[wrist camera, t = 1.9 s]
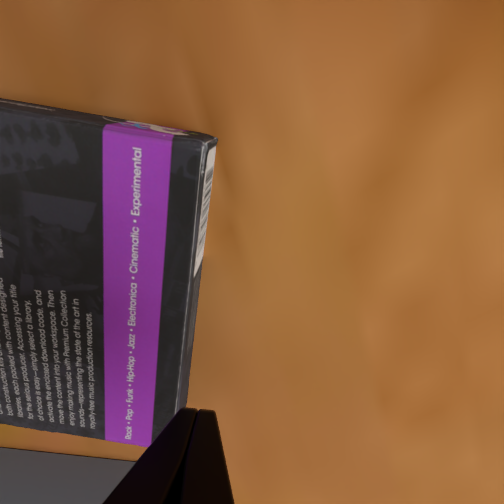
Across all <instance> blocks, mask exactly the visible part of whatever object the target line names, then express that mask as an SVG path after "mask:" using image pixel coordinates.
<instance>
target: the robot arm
mask: <svg viewBox="0 0 504 504" xmlns="http://www.w3.org/2000/svg"><path fill="white" fill-rule="evenodd" d="M102 504H234V499H233V494H232V489H231V484H230V480H229V475H228V470H227V465H226V460H225V455H224V451H223V446H222V441H221V436H220V431H219V426H218V421H217V417H216V413H215V411H214V410H206V409H200V410H199V411H198V410H197V409H195V408H187V407H182V408H181V409H179V411H178V412H177V413H176V414H175V415H174V417H173V418H172V419H171V420H170V421H169V423H168V424H167V425H166V426H165V428H164V429H163V430H162V431H161V432H160V434H159V435H158V436H157V437H156V439H155V440H154V441H153V442H152V443H151V445H150V446H149V447H148V448H147V449H146V451H145V452H144V453H143V454H142V456H141V457H140V458H139V459H138V460H137V462H136V463H135V464H134V465H133V467H132V468H131V469H130V470H129V471H128V473H127V474H126V475H125V476H124V478H123V479H122V480H121V481H120V482H119V484H118V485H117V486H116V487H115V489H114V490H113V491H112V492H111V493H110V495H109V496H108V497H107V498H106V499H105V501H104V502H103V503H102Z"/></svg>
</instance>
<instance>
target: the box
mask: <svg viewBox="0 0 504 504" xmlns="http://www.w3.org/2000/svg"><path fill="white" fill-rule="evenodd" d="M217 142H218V139H217V138H216V137H213V136H211V135H208V134H204V133H199V132H193V131H187V130H181V129H175V128H169V127H164V126H158V125H152V124H147V123H141V122H135V121H129V120H124V119H118V118H113V117H107V116H101V115H95V114H89V113H83V112H78V111H72V110H66V109H60V108H55V107H49V106H44V105H38V104H32V103H26V102H20V101H14V100H8V99H2V98H0V423H1V424H8V425H13V426H17V427H24V428H31V429H36V430H40V431H49V432H59V433H66V434H72V435H78V436H83V437H90V438H96V439H101V440H107V441H113V442H119V443H125V444H133V445H138V446H143V447H149V446H150V445H151V443H152V442H153V441H154V440H155V439H156V437H157V436H158V435H159V434H160V432H161V431H162V430H163V429H164V428H165V426H166V425H167V424H168V423H169V421H170V420H171V419H172V418H173V417H174V415H175V414H176V413H177V412H178V411H179V409H181V408H182V407H186V403H187V396H188V386H189V376H190V367H191V357H192V349H193V341H194V332H195V322H196V314H197V305H198V296H199V287H200V279H201V270H202V260H203V251H204V243H205V235H206V227H207V218H208V210H209V202H210V194H211V186H212V177H213V169H214V161H215V152H216V144H217Z"/></svg>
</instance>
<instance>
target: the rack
mask: <svg viewBox="0 0 504 504" xmlns="http://www.w3.org/2000/svg"><path fill="white" fill-rule="evenodd" d="M135 463H136V462H131V461H122V460H112V459H103V458H94V457H84V456H75V455H66V454H56V453H47V452H37V451H28V450H19V449H9V448H0V504H102V503H103V502H104V501H105V499H106V498H107V497H108V496H109V495H110V493H111V492H112V491H113V490H114V489H115V487H116V486H117V485H118V484H119V482H120V481H121V480H122V479H123V478H124V476H125V475H126V474H127V473H128V471H129V470H130V469H131V468H132V467H133V465H134V464H135Z"/></svg>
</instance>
